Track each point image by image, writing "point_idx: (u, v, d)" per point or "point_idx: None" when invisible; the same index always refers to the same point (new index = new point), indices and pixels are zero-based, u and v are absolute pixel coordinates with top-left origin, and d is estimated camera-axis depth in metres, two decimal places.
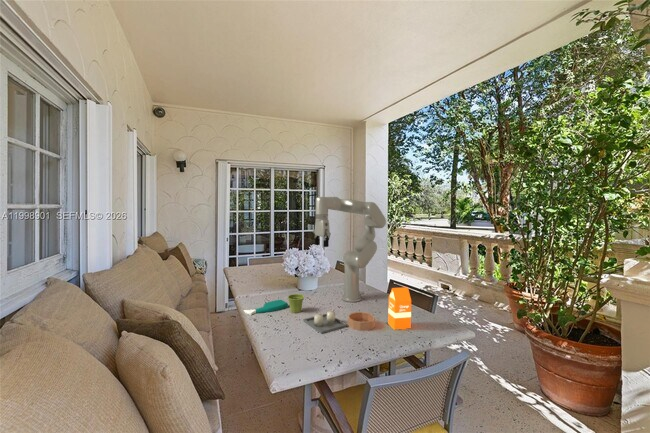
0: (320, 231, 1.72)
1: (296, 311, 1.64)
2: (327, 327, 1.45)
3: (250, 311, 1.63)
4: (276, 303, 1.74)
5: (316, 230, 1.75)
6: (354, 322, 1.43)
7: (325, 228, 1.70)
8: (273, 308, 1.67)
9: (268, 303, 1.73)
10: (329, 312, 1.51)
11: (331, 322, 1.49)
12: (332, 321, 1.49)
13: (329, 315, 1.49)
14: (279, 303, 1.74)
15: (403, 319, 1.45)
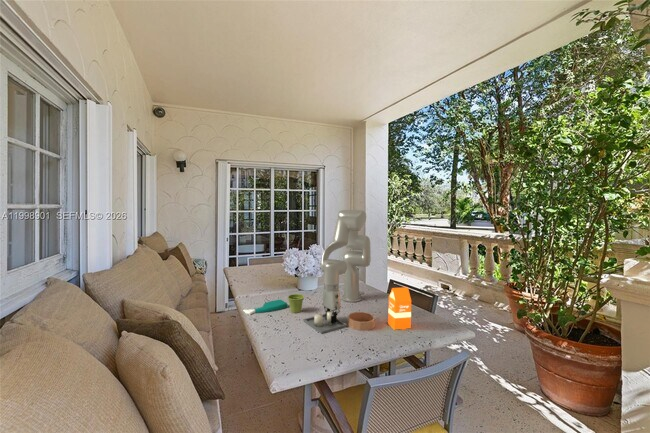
0: (330, 304, 1.48)
1: (296, 311, 1.64)
2: (327, 327, 1.45)
3: (249, 311, 1.63)
4: (276, 303, 1.74)
5: (325, 301, 1.52)
6: (354, 322, 1.43)
7: (335, 301, 1.47)
8: (272, 308, 1.67)
9: (267, 303, 1.74)
10: (329, 312, 1.51)
11: None
12: None
13: (329, 315, 1.49)
14: (279, 303, 1.74)
15: (403, 319, 1.45)
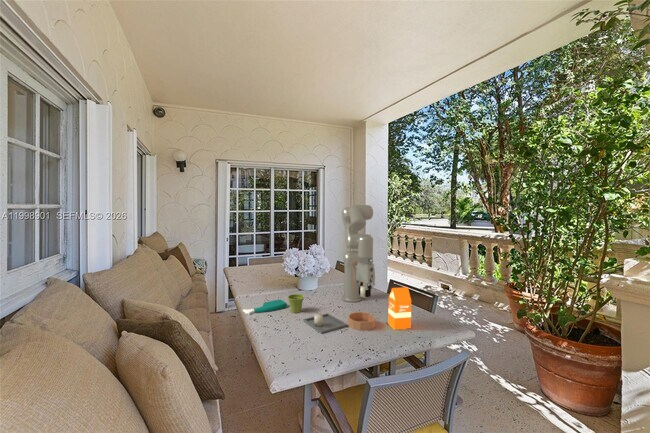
0: (364, 277, 1.46)
1: (296, 311, 1.64)
2: (327, 327, 1.45)
3: (249, 311, 1.63)
4: (275, 303, 1.74)
5: (358, 275, 1.50)
6: (354, 322, 1.43)
7: (370, 274, 1.45)
8: (272, 308, 1.67)
9: (267, 303, 1.74)
10: (363, 286, 1.50)
11: None
12: None
13: (363, 289, 1.48)
14: (278, 303, 1.74)
15: (403, 319, 1.45)
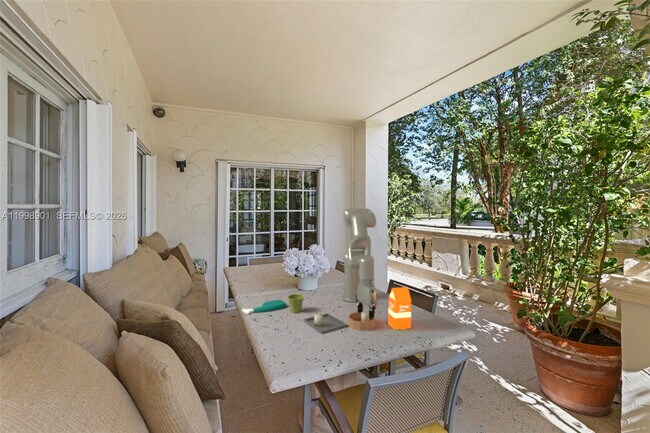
0: (365, 299, 1.47)
1: (296, 311, 1.64)
2: (327, 327, 1.45)
3: (248, 310, 1.64)
4: (275, 302, 1.74)
5: (359, 296, 1.50)
6: (354, 322, 1.43)
7: (371, 296, 1.45)
8: (271, 308, 1.67)
9: (267, 303, 1.74)
10: (364, 313, 1.50)
11: None
12: None
13: (364, 316, 1.48)
14: (278, 303, 1.74)
15: (403, 319, 1.45)
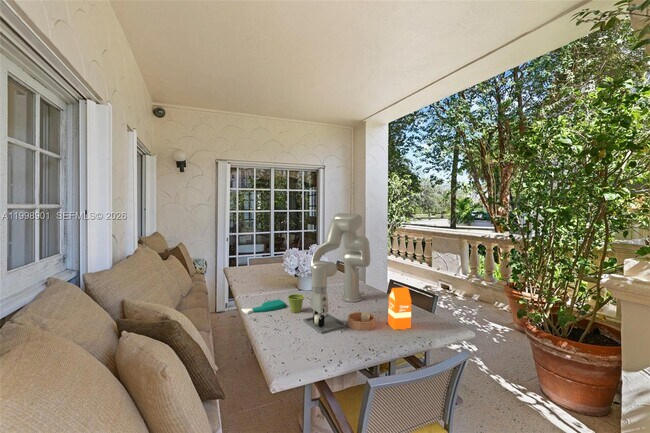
0: (317, 306, 1.44)
1: (296, 311, 1.64)
2: (327, 327, 1.45)
3: (247, 310, 1.64)
4: (274, 302, 1.74)
5: (312, 303, 1.47)
6: (354, 322, 1.43)
7: (323, 304, 1.42)
8: (270, 308, 1.68)
9: (266, 303, 1.74)
10: (364, 313, 1.50)
11: None
12: None
13: (364, 316, 1.48)
14: (277, 303, 1.74)
15: (403, 319, 1.45)
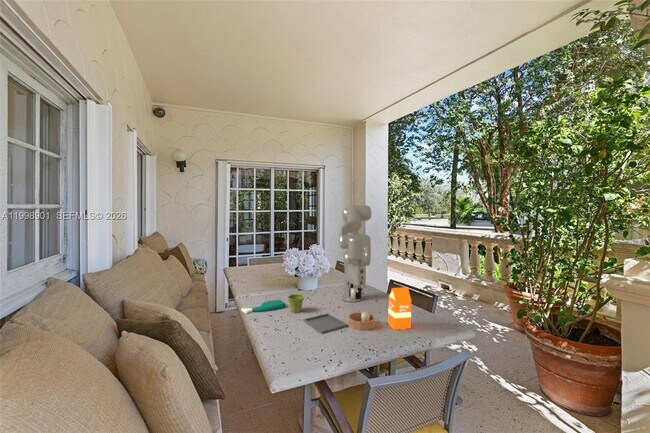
0: (354, 279, 1.43)
1: (296, 311, 1.64)
2: (327, 327, 1.45)
3: (246, 310, 1.65)
4: (274, 302, 1.74)
5: (349, 276, 1.47)
6: (354, 322, 1.43)
7: (360, 276, 1.41)
8: (269, 308, 1.68)
9: (266, 302, 1.74)
10: (364, 313, 1.50)
11: None
12: None
13: (364, 316, 1.48)
14: (277, 303, 1.74)
15: (403, 319, 1.45)
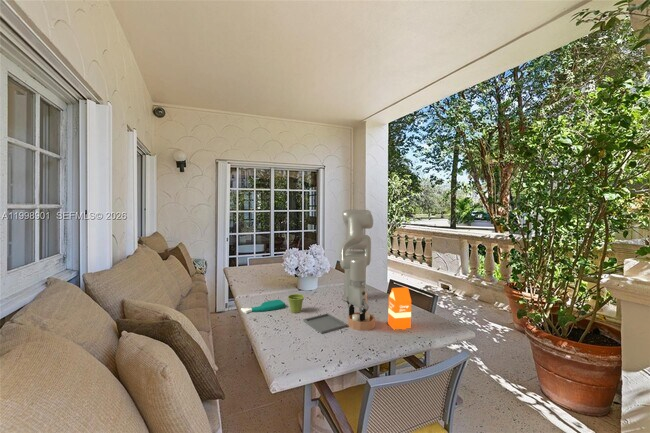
0: (356, 301, 1.43)
1: (296, 311, 1.64)
2: (327, 327, 1.45)
3: (246, 309, 1.65)
4: (274, 302, 1.74)
5: (350, 298, 1.47)
6: (354, 322, 1.43)
7: (362, 298, 1.42)
8: (269, 308, 1.68)
9: (266, 302, 1.74)
10: None
11: None
12: None
13: None
14: (277, 303, 1.74)
15: (403, 319, 1.45)
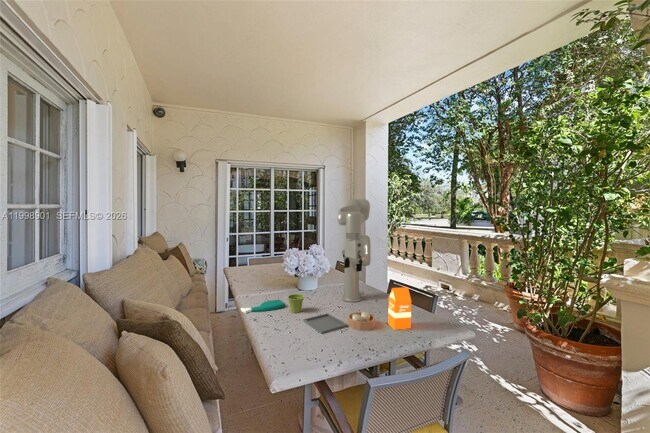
0: (352, 253, 1.47)
1: (296, 311, 1.64)
2: (327, 327, 1.45)
3: (246, 309, 1.65)
4: (274, 302, 1.74)
5: (346, 251, 1.51)
6: (354, 322, 1.43)
7: (358, 249, 1.46)
8: (269, 307, 1.68)
9: (266, 302, 1.75)
10: (363, 313, 1.50)
11: None
12: None
13: (364, 316, 1.48)
14: (276, 303, 1.74)
15: (403, 319, 1.45)
